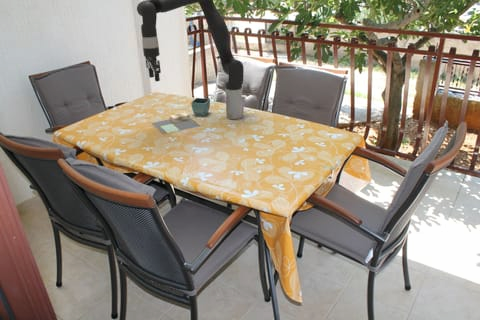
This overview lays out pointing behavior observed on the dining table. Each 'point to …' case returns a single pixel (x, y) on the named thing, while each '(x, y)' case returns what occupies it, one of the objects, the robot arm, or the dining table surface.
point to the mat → (174, 125)
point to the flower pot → (200, 106)
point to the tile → (179, 117)
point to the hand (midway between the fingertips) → (154, 79)
